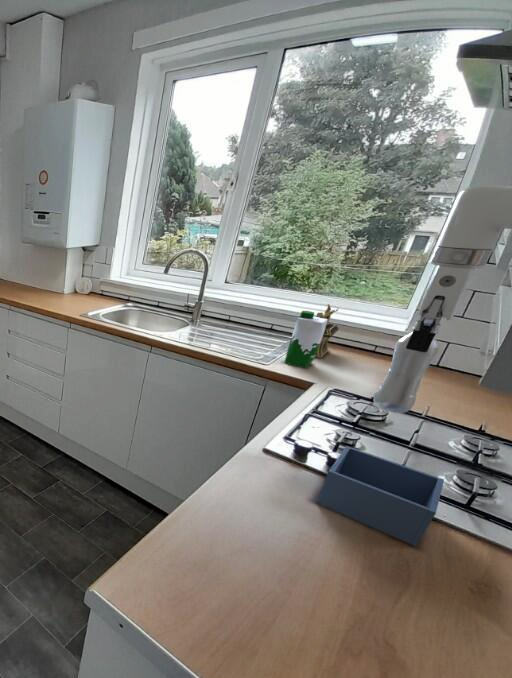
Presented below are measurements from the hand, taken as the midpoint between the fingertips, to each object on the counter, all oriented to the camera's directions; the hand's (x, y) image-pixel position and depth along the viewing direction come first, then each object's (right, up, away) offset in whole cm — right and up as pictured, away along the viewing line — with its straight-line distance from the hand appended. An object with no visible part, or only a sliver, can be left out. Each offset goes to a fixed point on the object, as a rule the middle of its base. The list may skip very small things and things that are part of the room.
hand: (418, 346), depth 85 cm
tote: (-11, -33, -1) cm, 35 cm away
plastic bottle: (0, -14, +6) cm, 15 cm away
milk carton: (+29, 0, +75) cm, 80 cm away
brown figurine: (+46, +6, +88) cm, 99 cm away
